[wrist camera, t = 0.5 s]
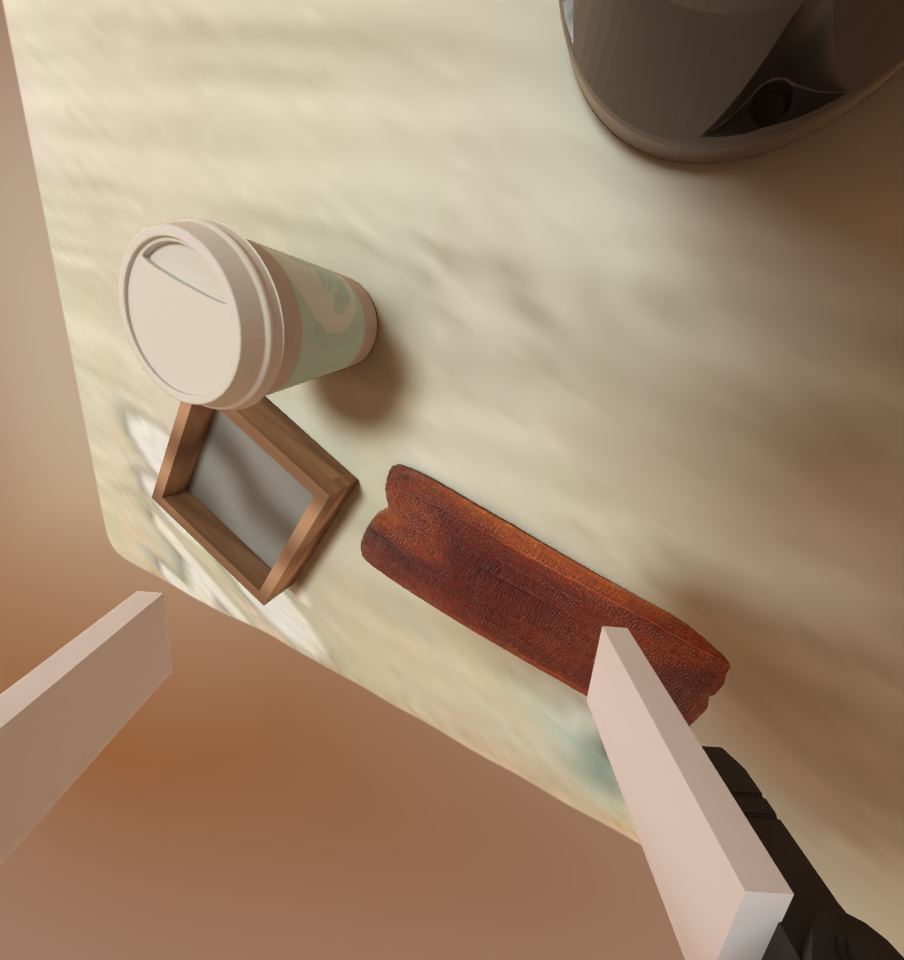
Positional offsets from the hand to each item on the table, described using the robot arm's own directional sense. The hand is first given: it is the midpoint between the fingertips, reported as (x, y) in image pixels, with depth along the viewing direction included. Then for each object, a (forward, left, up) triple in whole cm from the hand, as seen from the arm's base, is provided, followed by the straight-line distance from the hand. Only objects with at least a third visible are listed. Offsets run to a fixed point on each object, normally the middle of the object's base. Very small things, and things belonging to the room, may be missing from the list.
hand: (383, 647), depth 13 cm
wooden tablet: (+7, +6, -18) cm, 20 cm away
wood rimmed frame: (+16, -16, -17) cm, 28 cm away
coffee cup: (0, -16, -17) cm, 24 cm away
